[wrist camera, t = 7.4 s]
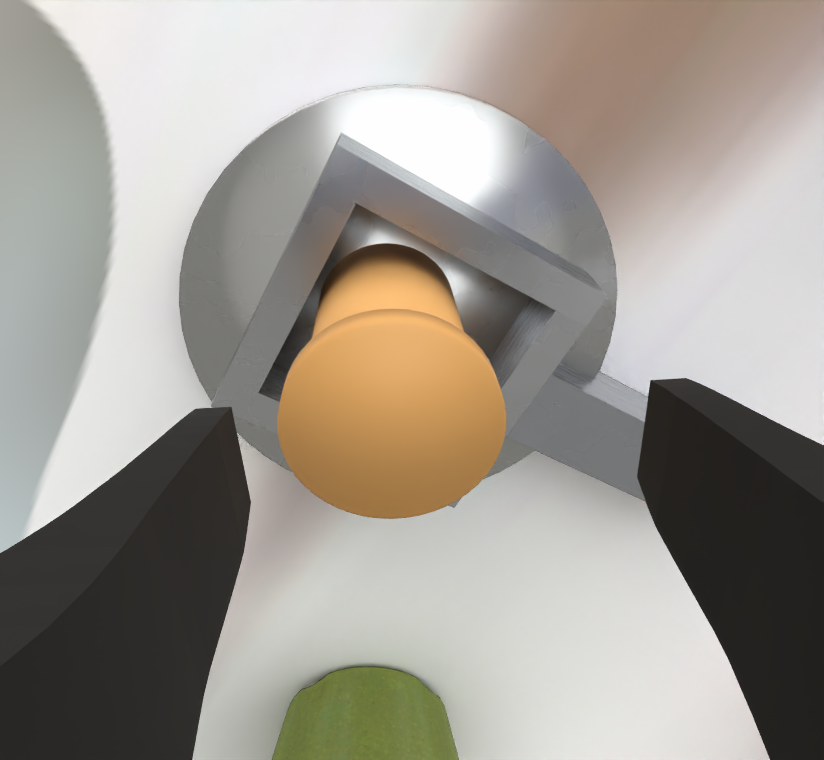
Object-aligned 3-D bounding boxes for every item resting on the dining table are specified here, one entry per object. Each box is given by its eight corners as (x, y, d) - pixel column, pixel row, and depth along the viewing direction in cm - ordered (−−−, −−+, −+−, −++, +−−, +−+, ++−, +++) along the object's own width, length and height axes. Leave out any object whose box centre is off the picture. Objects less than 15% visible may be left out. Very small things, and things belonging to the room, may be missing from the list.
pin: (472, 229, 19) (517, 324, 13) (462, 380, 21) (496, 517, 15) (300, 228, 19) (268, 324, 13) (309, 380, 21) (284, 520, 15)
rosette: (843, 321, 22) (917, 369, 19) (604, 583, 27) (633, 653, 24) (297, -18, 17) (280, -26, 14) (128, 387, 22) (90, 445, 19)
